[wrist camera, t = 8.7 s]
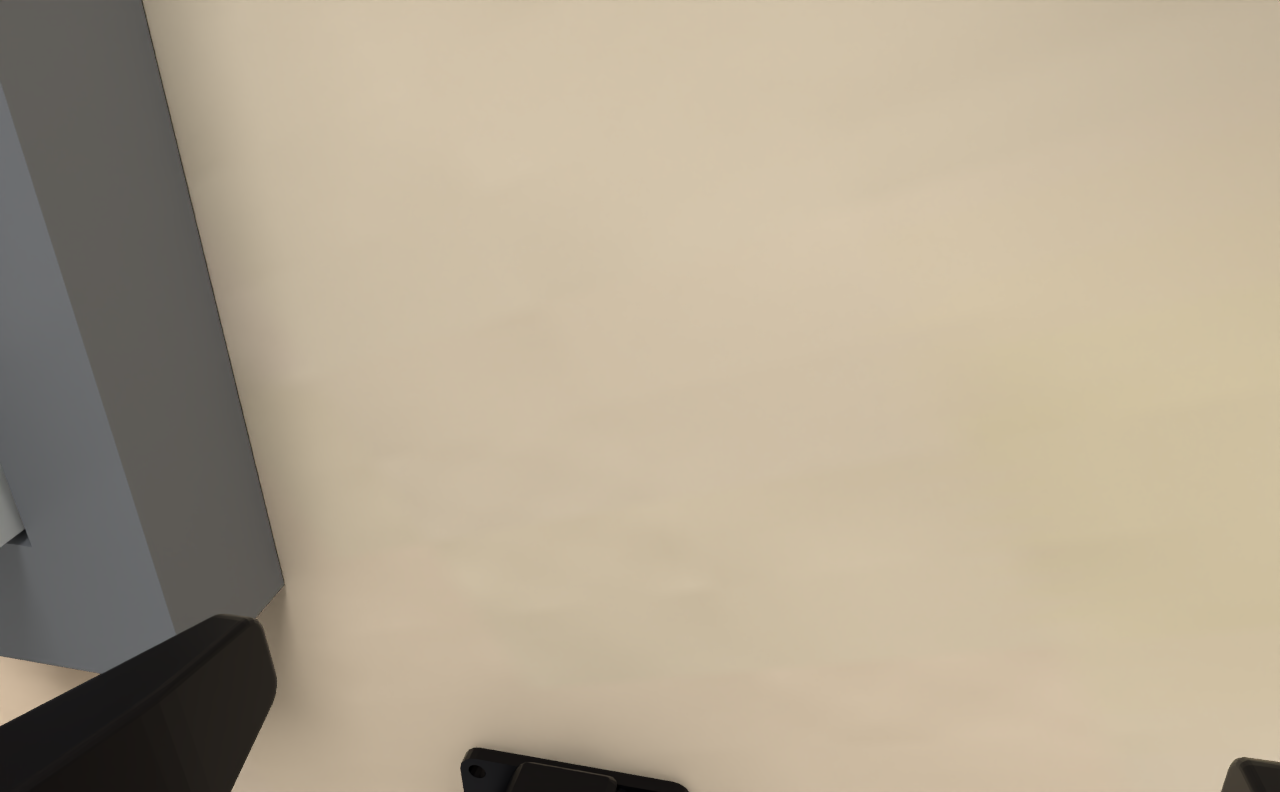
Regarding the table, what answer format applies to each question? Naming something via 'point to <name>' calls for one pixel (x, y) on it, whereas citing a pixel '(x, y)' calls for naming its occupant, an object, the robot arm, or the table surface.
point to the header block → (111, 358)
